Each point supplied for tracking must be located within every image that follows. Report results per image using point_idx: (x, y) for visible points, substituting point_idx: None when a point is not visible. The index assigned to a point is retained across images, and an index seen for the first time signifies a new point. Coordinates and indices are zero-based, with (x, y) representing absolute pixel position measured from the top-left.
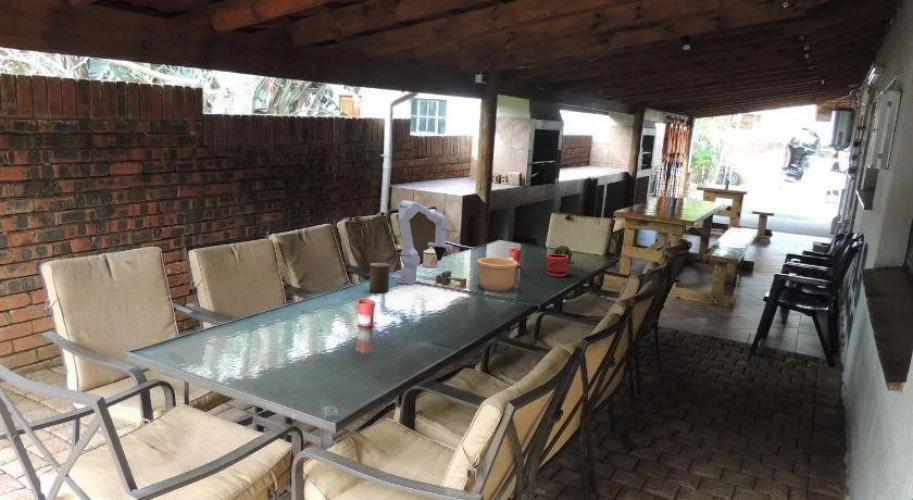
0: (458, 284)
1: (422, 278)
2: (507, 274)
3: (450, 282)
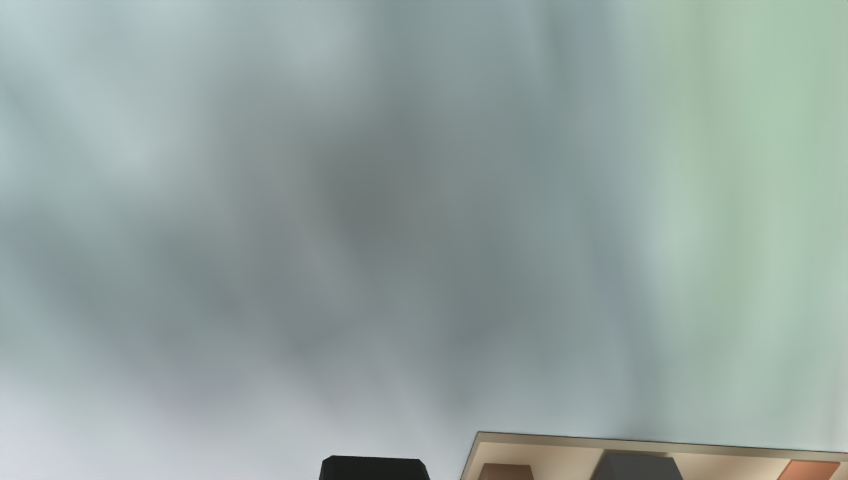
0: (793, 464)
1: (100, 377)
2: None
3: (672, 463)
